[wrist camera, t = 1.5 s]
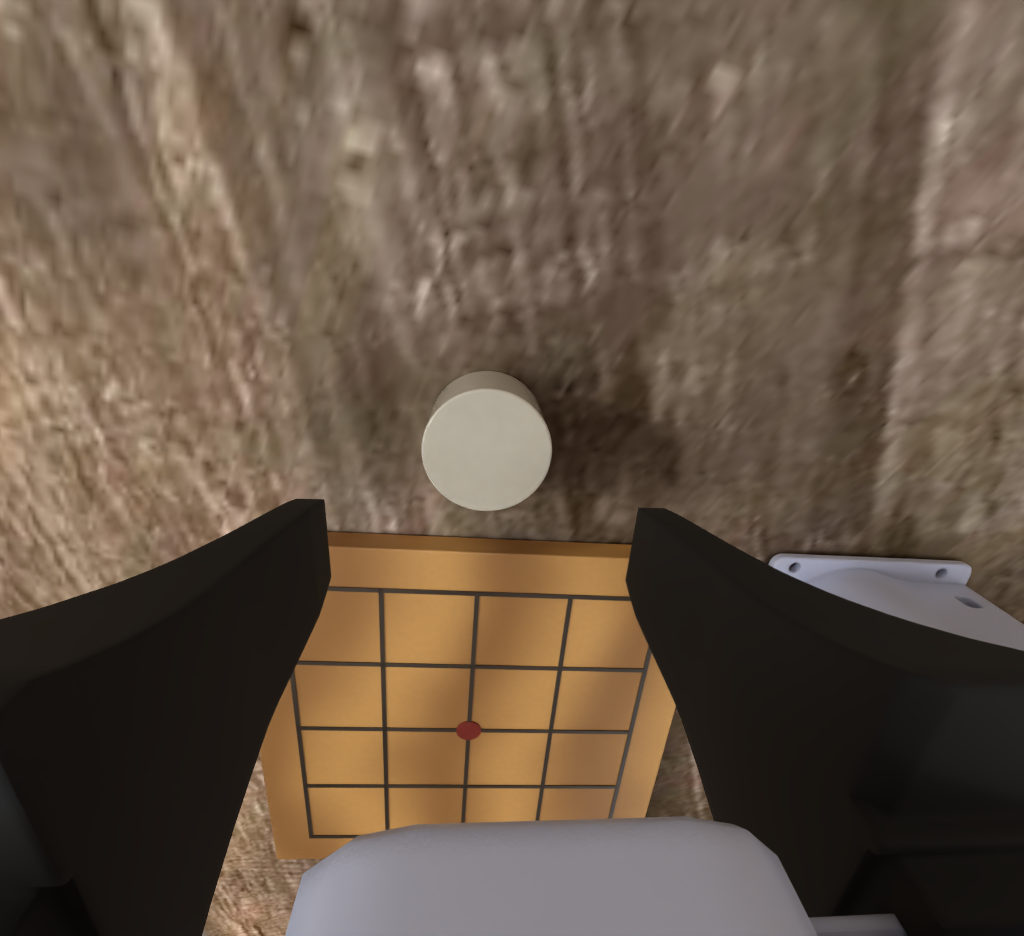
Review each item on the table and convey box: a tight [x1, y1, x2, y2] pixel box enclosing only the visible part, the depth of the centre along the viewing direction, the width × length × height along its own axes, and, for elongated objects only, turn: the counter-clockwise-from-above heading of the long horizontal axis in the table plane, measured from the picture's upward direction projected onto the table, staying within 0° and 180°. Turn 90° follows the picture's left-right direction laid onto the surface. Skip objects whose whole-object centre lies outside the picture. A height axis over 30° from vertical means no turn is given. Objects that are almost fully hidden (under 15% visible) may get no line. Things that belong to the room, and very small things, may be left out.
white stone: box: [421, 371, 552, 511], centre depth 18 cm, size 4×4×3 cm
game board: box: [260, 532, 676, 859], centre depth 24 cm, size 20×20×1 cm
